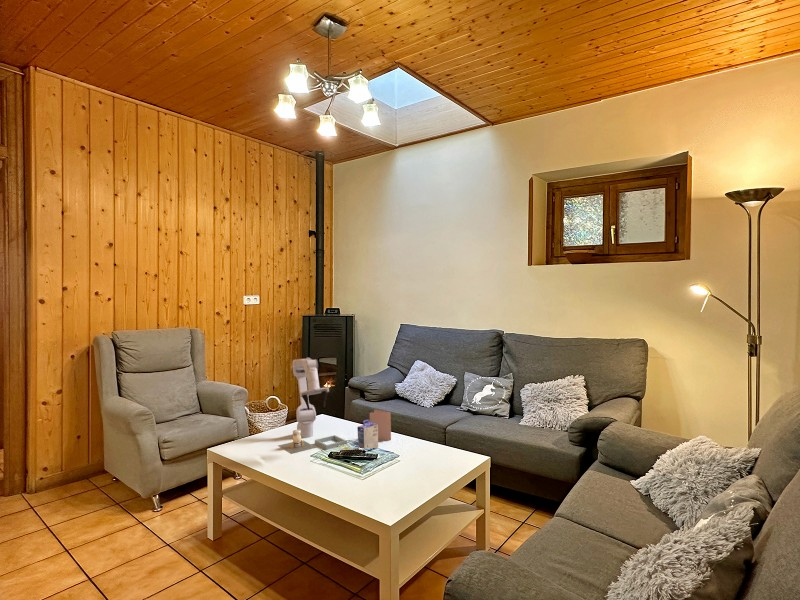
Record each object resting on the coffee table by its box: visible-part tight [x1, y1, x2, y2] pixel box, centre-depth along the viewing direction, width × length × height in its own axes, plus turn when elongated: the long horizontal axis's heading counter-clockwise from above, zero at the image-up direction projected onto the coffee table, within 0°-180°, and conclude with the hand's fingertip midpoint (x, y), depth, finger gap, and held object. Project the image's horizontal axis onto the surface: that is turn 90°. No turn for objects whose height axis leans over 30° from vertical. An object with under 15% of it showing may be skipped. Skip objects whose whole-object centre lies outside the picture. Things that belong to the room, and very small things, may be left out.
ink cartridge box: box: [357, 419, 379, 449], centre depth 231 cm, size 10×6×14 cm, turn 136°
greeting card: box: [368, 409, 392, 441], centre depth 246 cm, size 11×7×15 cm, turn 54°
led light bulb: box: [292, 429, 302, 448], centre depth 232 cm, size 4×4×8 cm
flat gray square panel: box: [277, 439, 318, 455], centre depth 232 cm, size 16×14×4 cm
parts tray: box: [314, 435, 348, 451], centre depth 235 cm, size 12×12×4 cm
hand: (316, 408), depth 225 cm, fingers open, 7 cm apart
